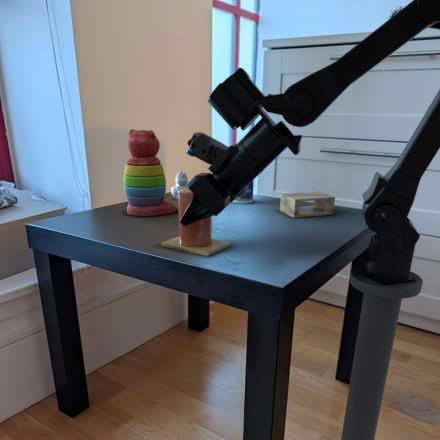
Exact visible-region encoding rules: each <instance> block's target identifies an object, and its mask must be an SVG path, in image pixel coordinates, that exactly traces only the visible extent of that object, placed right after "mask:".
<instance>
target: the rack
mask: <svg viewBox="0 0 440 440" xmlns="http://www.w3.org/2000/svg"><path fill="white" fill-rule="evenodd" d="M279 201H280V203H279V211H280V212H281V213H283V214H285V215H287V216H289V217H292V218H294V219H296V218H297V219H298V218H308V217H319V216H321V217H322V216H329V215H334V210H335V201H336V196H334V195H331V194H328V193H325V192H321V191H319V190H318V191H305V192H303V191H302V192H288V193H280V200H279ZM301 202H313V203H312V205H309V206H300V203H301Z"/></svg>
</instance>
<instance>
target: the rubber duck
mask: <svg viewBox="0 0 440 440" xmlns="http://www.w3.org/2000/svg"><path fill="white" fill-rule="evenodd" d="M188 183H189V177H188V175H187V174H186V172H185V171H183V168H181V170H180V171H178V172H177V173H176V175H175V185H173V186H172V187H170V193H171V196H173V198H175V199H177V200H178V190H179V189H182V188H188V187H187V184H188Z"/></svg>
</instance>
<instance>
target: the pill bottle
mask: <svg viewBox="0 0 440 440" xmlns="http://www.w3.org/2000/svg"><path fill="white" fill-rule="evenodd" d="M254 181H255V179H254V180H253V181H252V182H251V183H250V184H249V185H248V188H247V189H246V190H245V191H244V192H243V193H242V194H241V195H240V196H239V197H238V196H236V197H235V198H236V199H235V200H234V201H233V202H232V203H235V204H245V205H246V204H251V203H252V202H253V200H254Z"/></svg>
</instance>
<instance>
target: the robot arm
mask: <svg viewBox="0 0 440 440" xmlns="http://www.w3.org/2000/svg"><path fill="white" fill-rule="evenodd" d="M426 29H434V30H439V31H440V0H412V1H410V2H409V3H408V4H407V5H405V6H404V7H403V8H401V10H399V11H398V12H396V13H395V14H394V15H393V16H391V17H390V18H388V20H387V21H385V22H384V23H382V24H381V25H380V26H379V27H377V29H375V30H374V31H372V32H371V33H370V34H368V35H367V36H366V37H365V38H363V39H362V40H361V41H360V42H358V43H357V44H356V45H355V46H353V47H352V48H351V49H350V50H348V51H347V52H346V53H345V54H343V55H342V56H341V57H340V58H338V59H337V60H336V61H334V62H332V63H330V64H328V65H326V66H324V67H323V68H320V69H319V70H317V71H314V72H312V73H311V74H309V75H307V76H305V77H303V78H301V79H300V80H297V82H294V83H293V84H291V85H290V86H288V87H287V88H286V89H285V91H284V92H283V93H277V94H273V93H268V94H267V95H265V94H264V93H263V92H262V90H260V87H258V86H257V85H256V83H254V81H253V80H252V78H251V77H250V74H249V73H248V72H247V71H246V70H245V69H244V68H242V67H238V68H237V70H235V72H234V73H231V75H229V76H228V77H227V78H226V79H224V80H223V81H222V82H219V83H218V85H216V86H215V88H214V89H213V91H212V92H211V93H210V95H209V97H208V99H207V102H208V104H209V105H210V106H211V107H212V108H213V110H215V111H216V113H217V114H218V115H219V117H221V118H222V120H223V121H224V122H225V123H226V124H227V125H228V127H230V129H231V130H232V131H235V130H237V129H239V128H240V130H241V131H242V132H244V131H245V130H246V129H248V128H249V127H250V126H251V125H252V124H253V123H255V121H256V120H257V119H258V118H259V116H260V117H261V119H259V120H258V121H257V122H256V123H255V124H254V126H253V127H252V128H251V129H250V130H249V131H247V133H245V134H244V135H243V137H242V138H241V139H240V140H239V141H238V142H237V143H234V144H231V145H229V146H227V144H224V143H222V142H221V141H220V140H217V139H216V138H214V137H212V136H210V135H208V134H206V133H205V132H201V131H198V132H194V133H192V136H191V138H190V139H189V140H187V143H186V144H187V148H186V151H185V153H186V154H187V155H188V156H190V157H192V158H194V157H195V158H196V159H198V160H200V161H201V162H203V163H206V164H207V165H209V167H207V170H209V171H210V172H200V173H198V174H196V175H194V176H193V177H192V178H191V180H190V181H188V183H187V187H188V189H189V190H190V191H191V192H192V193H193V199H192V201H191V203H190V204H189V206H188V208H187V210H186V211H185V213H184V215H183V217H182V218H181V220H180V223H181V224H182V225H183V226H186V225H189V224H191V223H194V222H197V221H199V220H202V219H205V218H208V217H211V216H212V217H217V216H218V215H220V214H221V213H222V212H223V211H224V210H225V209H226V208H227V207H228V206H229V205H230V204H231V203H234V202H233V201H234V200H235V199H236V198H235V197H236V196H238V197H239V196H240V195H241V194H242V193H243V192H244V191H245V190H246V189H247V188H248V185H249V184H250V183H251V182H252V181H253V180H254V181H255V179H256V178H258V176H260V175H261V174H262V173H263V172H264V170H266V168H268V167H269V166H270V165H271V164H272V163H273V162H274V161H275V160H276V159H277V158H278V157H279V156H280V155H281V154H282V153H283V152H285V150H286V149H287V148H288V149H289V151H291V153H292V154H293V155H294V156H298V155H299V154H300V152H301V142H302V139H303V135H302V134H294V133H293V132H292V131H291V129H290V128H289V127H288V126H287V125H286V124H285V122H286V123H287V124H289V125H290V126H292V127H297V128H304V127H307V126H309V125H311V124H313V123H314V122H316V121H317V120H318V119H319V118H320V117H321V116H322V115H323V114H324V113H325V112H326V111H327V110H328V109H329V108H330V107H331V106H332V105H333V103H334V102H335V101H336V100H338V98H340V96H341V95H342V94H343V93H344V92H345V91H346V90H347V89H348V88H349V87H350V86H351V85H352V84H354V83H355V82H357V81H358V80H360V78H362V77H363V76H365V75H366V74H367V73H368V72H370V71H371V70H373V69H374V68H375V67H377V66H378V65H380V63H382V62H383V61H385V60H387V58H388V57H390V56H391V55H393V54H394V53H395V52H397V51H398V50H400V48H402V47H403V46H404V45H406V44H407V43H409V42H410V41H411V40H413V39H414V38H415V37H417V36H418V35H420V33H422V32H423V31H425V30H426ZM268 113H269V114H274V115H278V116H282V118H283V120H284V121H285V122H284V121H283V120H280V121H279V122H278V123H276V121H274V120H273V119H272V118H271V117H270V115H269V114H268ZM439 150H440V88H439V89H438V91H437V92H436V94H435V96H434V98H433V99H432V101H431V102H430V104H429V106H428V108H427V109H426V111H425V112H424V115H423V116H422V118H421V120H420V121H419V124H418V125H417V126H416V128H415V129H414V131H413V133H412V135H411V136H410V138H409V140H408V141H407V143H406V145H405V147H404V148H403V150H402V152H401V154H399V156H398V158H397V160H396V162H395V164H394V165H393V166H392V167H391V168H390V169H389V170H388V171H387V172H386V173H385V174H384V175H383V174H381V173H380V172H379V171H376V172H375V173H374V175H373V177H372V181H371V183H370V185H369V187H368V188H367V190H366V191H364V192H363V193H362V199H363V203H362V214H363V217H364V222H365V224H366V226H367V228H368V229H369V230H370V231H371V232H373V233H375V234H371V235H370V240H369V243H368V247H367V255H366V257H367V258H368V259H369V262H366V263H365V265H366V268H362V269H358V272H359V273H360V274H362V275H364V276H366V277H367V278H369V279H371V280H373V281H374V282H376V283H378V284H380V285H382V286H387V285H394V284H401V283H407V282H414V281H416V279H417V278H416V277H414V276H412V275H410V271H411V269H412V264H413V259H414V254H415V250H416V249H415V248H416V245H417V243H418V241H419V239H420V238H421V235H420V233H419V232H418V230H417V229H416V227H415V226H414V224H413V221H412V220H411V219H409V214H410V212H411V209H412V206H413V204H414V203H415V200H416V195H417V192H418V189H419V185H420V182H421V180H422V177H423V176H424V175H425V173H426V171H427V170H428V168H429V166H430V164H432V161H433V160H434V159H435V157H436V156H437V154H438V152H439Z"/></svg>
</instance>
